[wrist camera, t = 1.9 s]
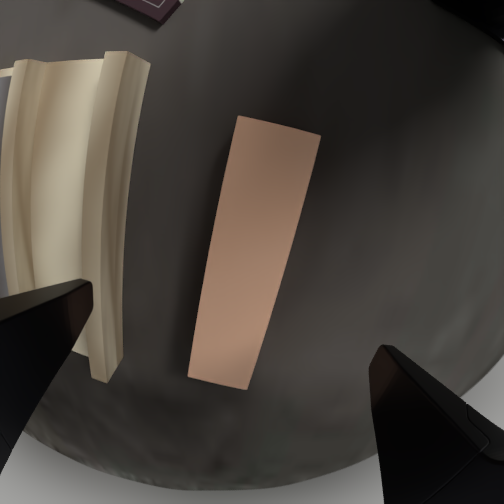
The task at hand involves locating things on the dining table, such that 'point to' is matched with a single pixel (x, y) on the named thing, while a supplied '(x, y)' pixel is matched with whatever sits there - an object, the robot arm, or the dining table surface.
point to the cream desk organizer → (70, 184)
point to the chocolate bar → (154, 8)
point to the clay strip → (250, 247)
